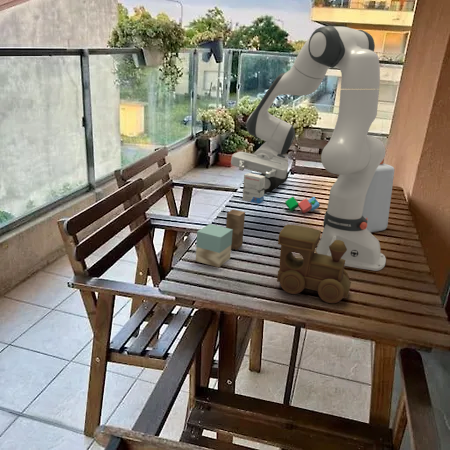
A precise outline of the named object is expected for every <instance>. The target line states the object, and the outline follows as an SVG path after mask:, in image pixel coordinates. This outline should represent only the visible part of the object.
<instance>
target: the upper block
mask: <svg viewBox="0 0 450 450" xmlns="http://www.w3.org/2000/svg"><path fill="white" fill-rule="evenodd" d="M232 232H233V229H229V228H226V226H225V227H223V226H220V225H215V224H212V223H209V224H207V225H205V226H203V227H202V228H200V229H199V230H197V231H196V245H195V246H196V247H199V248H203V249H207V250H210V251H214V252H218V253H220V252H222V251H223V250H225V249H226V248H227V247H229V246H230V245H231V244H232Z"/></svg>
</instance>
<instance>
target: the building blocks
mask: <svg viewBox="0 0 450 450" xmlns="http://www.w3.org/2000/svg"><path fill="white" fill-rule="evenodd" d="M320 203H321V202H319V201H318V200H317V198H316V196H312V197H311V198H310V199H307V198H304V199H303V200H301V201H299V202H298V200H297V199H296V198H295V196H291V197H290V198H288V199H287V200H285V206H286V207H287V208H288V210H289V211H290V212H293V211H295V210H296V209H297V208H299V209H300V211H301V212H302V213H303V214H305V213H307V212H309V211H311V212H313V211H315V210H317V209H318V208H319V207H321V205H320Z"/></svg>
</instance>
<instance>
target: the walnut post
mask: <svg viewBox="0 0 450 450" xmlns="http://www.w3.org/2000/svg"><path fill="white" fill-rule="evenodd" d="M245 217H246V212H245V211H242V210H236V209H231V210H229V211H228V212H227V213H226V223H225V228H229V229H233V232H232V244H231V250H234V249H235V251H238V250H239V249H240V248H241V247H243V243H244V241H243V240H244V230H245V228H244V227H245Z"/></svg>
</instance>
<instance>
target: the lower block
mask: <svg viewBox="0 0 450 450" xmlns="http://www.w3.org/2000/svg"><path fill="white" fill-rule="evenodd" d="M231 253H232V249H231V245H230V246H229V247H227V248H226V249H225V250H223V251H222V252H220V253H218V252H214V251H210V250H207V249H203V248H199V247H196V248H195V262H197V263H200V264H201V263H202V264H204V265H208V266H212V267H215V268H220V267H221V266H222V265H224V264H225V263H226V262H227V261H229V260H230V259H231Z"/></svg>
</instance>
